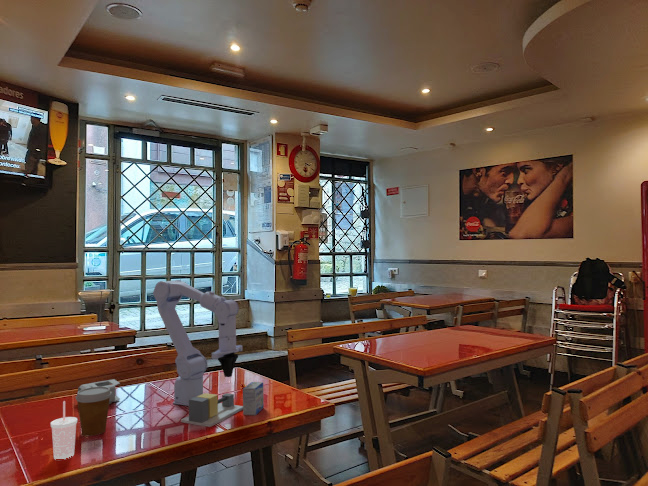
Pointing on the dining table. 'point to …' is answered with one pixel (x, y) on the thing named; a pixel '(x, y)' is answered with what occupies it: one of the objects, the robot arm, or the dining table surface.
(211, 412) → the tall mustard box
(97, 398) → the disposable coffee cup
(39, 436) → the dining table surface
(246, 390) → the medicine box
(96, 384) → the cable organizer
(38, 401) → the dining table surface
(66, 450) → the beverage cup
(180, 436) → the dining table surface
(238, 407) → the grey board with rod
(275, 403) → the dining table surface
